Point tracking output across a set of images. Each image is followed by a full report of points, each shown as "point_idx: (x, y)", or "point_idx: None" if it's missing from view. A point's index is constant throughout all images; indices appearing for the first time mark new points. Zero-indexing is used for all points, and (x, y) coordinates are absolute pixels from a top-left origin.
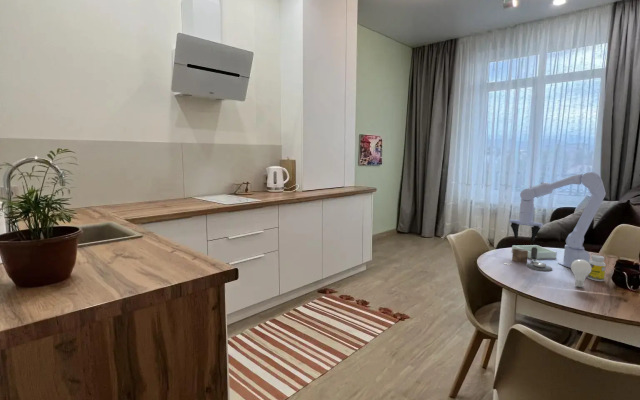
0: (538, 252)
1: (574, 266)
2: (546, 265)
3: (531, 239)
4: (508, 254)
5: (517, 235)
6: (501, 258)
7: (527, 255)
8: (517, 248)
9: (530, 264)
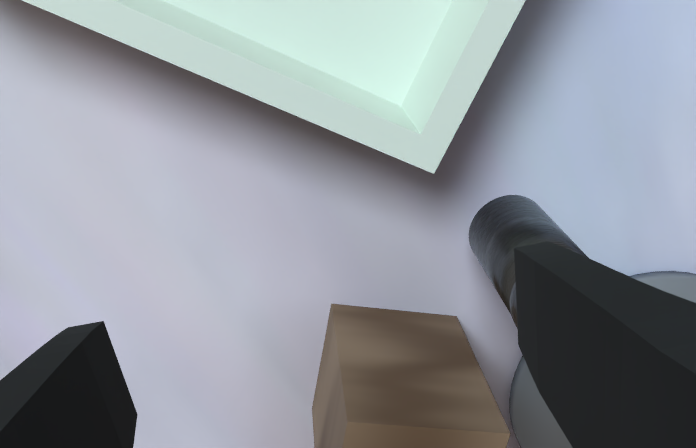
0: (511, 23)
1: None
2: (688, 278)
3: (541, 379)
4: (46, 153)
5: (87, 385)
6: (175, 428)
7: (483, 377)
8: (55, 8)
9: (544, 402)
